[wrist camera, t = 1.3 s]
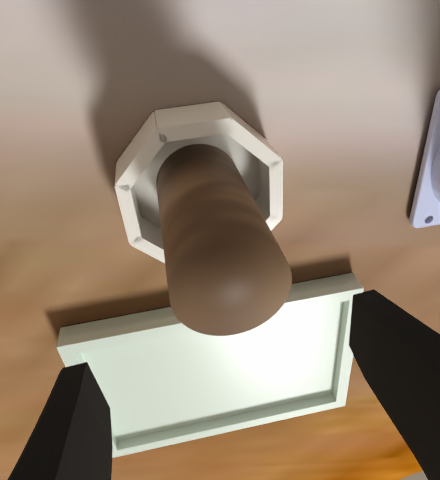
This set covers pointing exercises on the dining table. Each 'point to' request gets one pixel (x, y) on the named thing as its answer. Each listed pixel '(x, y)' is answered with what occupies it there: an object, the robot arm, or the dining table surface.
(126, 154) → the white octagonal dish
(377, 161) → the dining table surface
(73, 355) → the sage tray
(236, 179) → the dowel pin
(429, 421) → the robot arm
